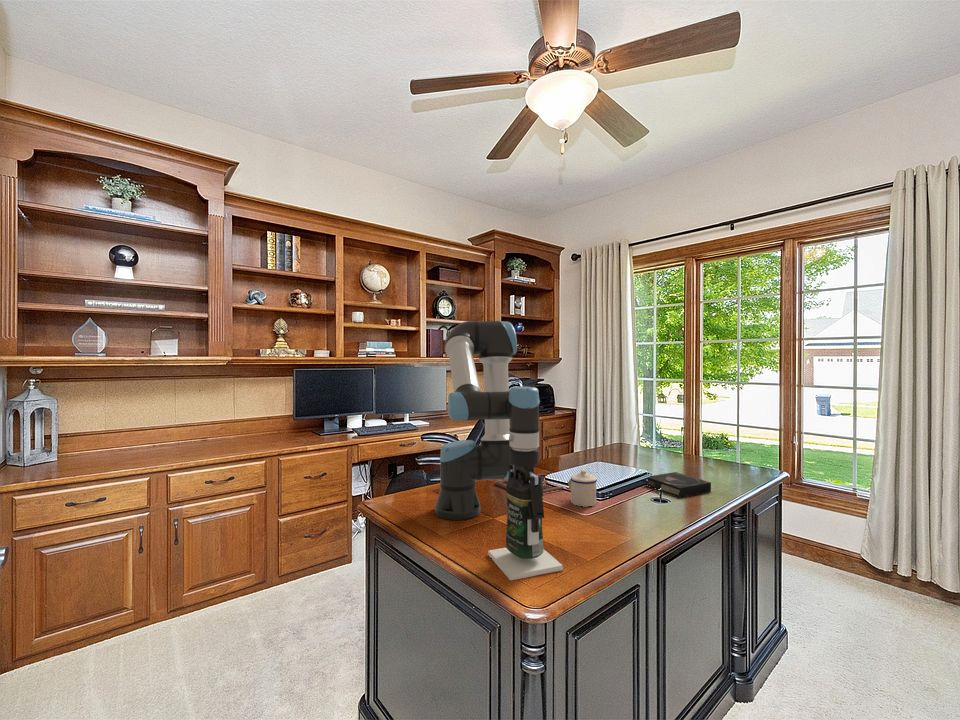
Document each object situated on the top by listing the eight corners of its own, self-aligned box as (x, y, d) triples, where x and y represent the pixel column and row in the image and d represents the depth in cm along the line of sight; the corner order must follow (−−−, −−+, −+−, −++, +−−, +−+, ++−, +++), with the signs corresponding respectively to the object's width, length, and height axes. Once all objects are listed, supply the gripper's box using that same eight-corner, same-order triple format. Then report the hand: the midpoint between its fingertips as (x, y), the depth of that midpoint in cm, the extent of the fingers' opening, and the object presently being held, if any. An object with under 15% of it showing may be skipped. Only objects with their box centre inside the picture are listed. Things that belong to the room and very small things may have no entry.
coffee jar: (500, 548, 115) (500, 477, 114) (525, 541, 119) (525, 472, 118) (523, 563, 106) (523, 486, 106) (548, 555, 110) (548, 481, 110)
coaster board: (488, 555, 117) (488, 550, 117) (535, 546, 121) (535, 542, 121) (510, 580, 103) (510, 575, 103) (562, 570, 108) (562, 565, 108)
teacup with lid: (602, 504, 155) (602, 471, 155) (583, 509, 150) (583, 475, 150) (578, 495, 165) (578, 464, 165) (559, 499, 161) (559, 467, 161)
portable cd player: (644, 486, 177) (644, 476, 177) (675, 481, 184) (675, 472, 184) (678, 499, 162) (678, 488, 162) (710, 493, 169) (711, 482, 169)
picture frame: (525, 499, 162) (576, 488, 175) (525, 494, 162) (576, 483, 175) (495, 486, 179) (543, 476, 192) (495, 481, 179) (543, 472, 192)
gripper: (493, 440, 121) (494, 522, 121) (530, 459, 100) (530, 557, 101) (518, 439, 124) (518, 518, 124) (559, 456, 103) (559, 552, 103)
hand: (524, 536), depth 112 cm, fingers closed on coffee jar, 9 cm apart
